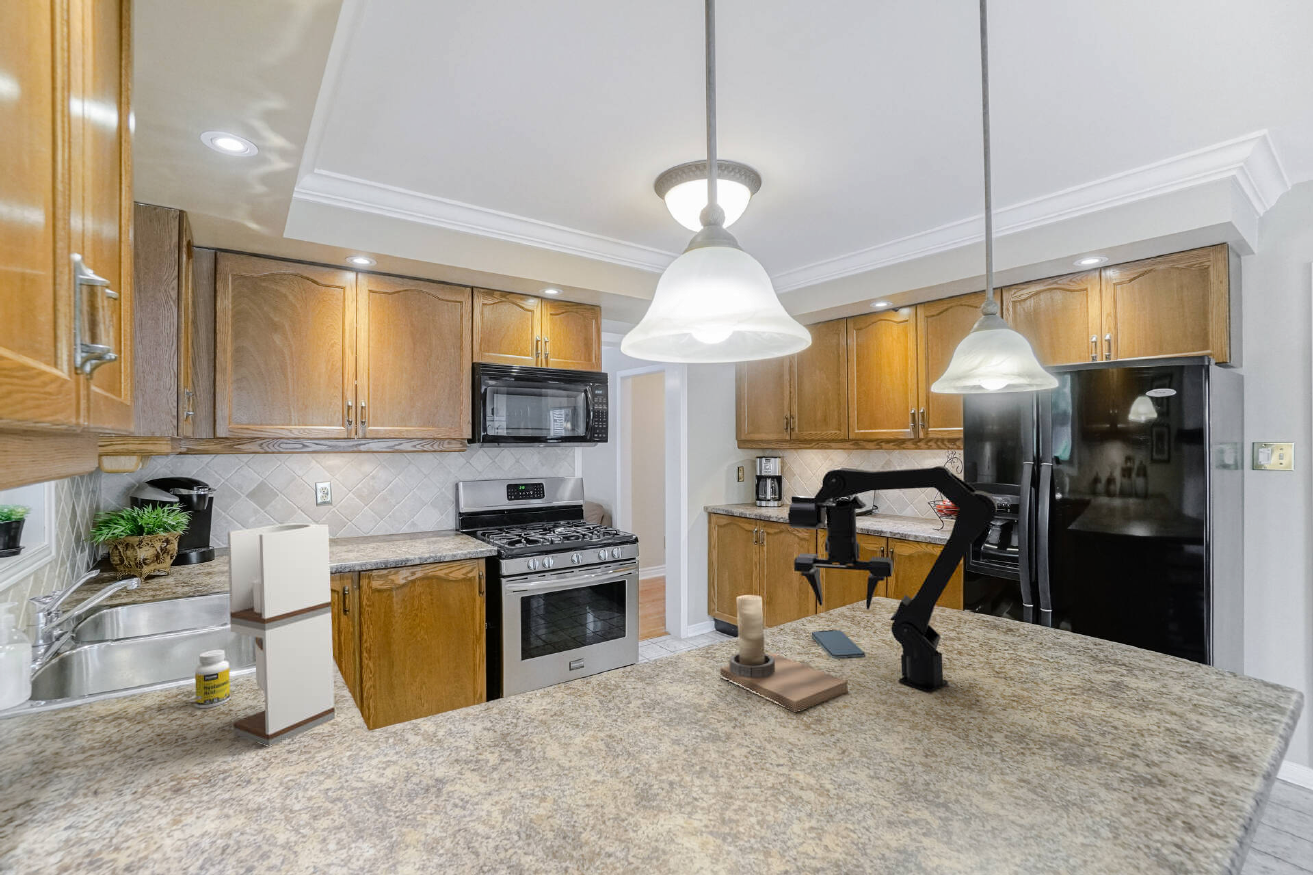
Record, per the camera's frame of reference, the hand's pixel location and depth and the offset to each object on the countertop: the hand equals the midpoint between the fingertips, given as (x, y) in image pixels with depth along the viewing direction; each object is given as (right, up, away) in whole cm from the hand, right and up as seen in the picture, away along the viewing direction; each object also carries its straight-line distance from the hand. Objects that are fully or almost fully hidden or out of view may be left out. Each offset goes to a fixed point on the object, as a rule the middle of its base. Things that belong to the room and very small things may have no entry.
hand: (844, 606), depth 123 cm
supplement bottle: (-125, -18, -5) cm, 126 cm away
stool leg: (-19, -12, -2) cm, 22 cm away
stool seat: (-14, -14, -6) cm, 20 cm away
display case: (-104, -17, -16) cm, 106 cm away
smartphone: (+3, -14, +15) cm, 20 cm away
